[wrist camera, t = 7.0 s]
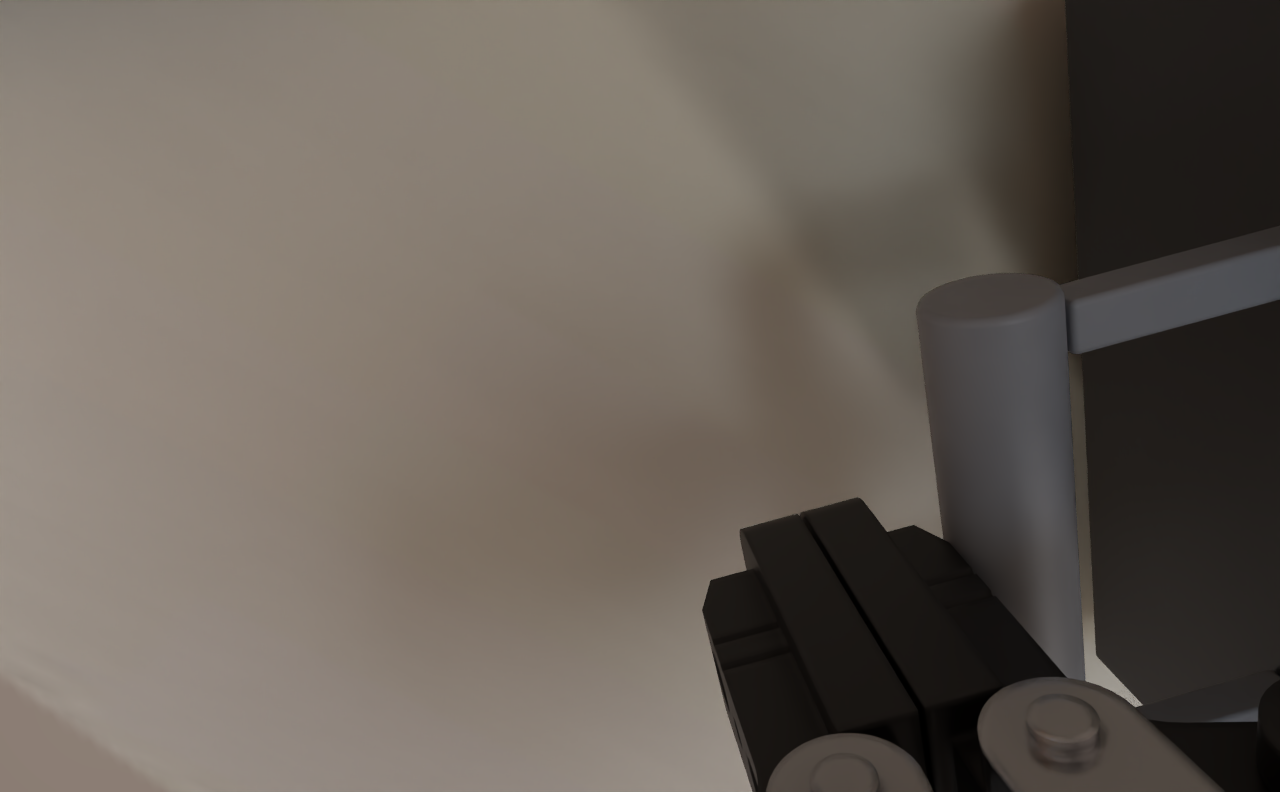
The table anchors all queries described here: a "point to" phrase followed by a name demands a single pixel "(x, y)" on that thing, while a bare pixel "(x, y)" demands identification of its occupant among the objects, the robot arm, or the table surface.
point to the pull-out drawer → (1137, 369)
